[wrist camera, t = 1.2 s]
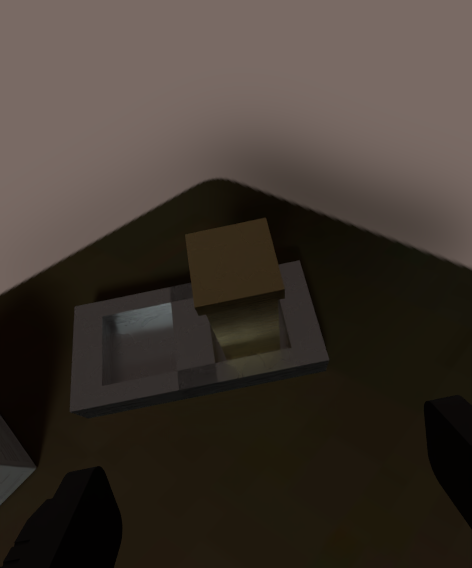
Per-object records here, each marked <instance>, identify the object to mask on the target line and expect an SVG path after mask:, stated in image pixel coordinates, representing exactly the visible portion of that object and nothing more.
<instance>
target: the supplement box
mask: <svg viewBox="0 0 472 568" xmlns="http://www.w3.org/2000/svg"><path fill="white" fill-rule="evenodd" d="M35 469H36V466H35V464H34V463H33V461H32V460H31V458H30V457H29V455H28V454H27V452H26V451H25V449H24V448H23V447H22V445H21V444H20V442H19V441H18V439H17V438H16V437H15V435H14V434H13V432H12V431H11V429H10V428H9V426H8V425H7V423H6V422H5V421H4V419H3V418H2V416H1V415H0V505H1V504H2V503H3V502H4V501H5V500H6V499H7V498H8V497H9V496H10V495H11V494H12V493H13V492H14V491H15V490H16V489H17V488H18V487H19V486H20V485H21V484H22V482H23V481H24V480H25V479H26V478H27V477H28V476H29V475H30V474H31V473H32V472H33V471H34V470H35Z"/></svg>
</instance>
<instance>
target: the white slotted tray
mask: <svg viewBox="0 0 472 568" xmlns="http://www.w3.org/2000/svg"><path fill="white" fill-rule="evenodd" d="M279 269H280V273H281V277H282V280H283V284H284V288H285V299H280V300H278V310H279V331H280V349H277V350H272V351H267V352H263V353H258V354H253V355H248V356H243V357H238V358H233V359H228V360H227V359H226V357H225V355H224V352H223V350H222V348H221V346H220V344H219V342H218V339H217V337H216V335H215V333H214V331H213V329H212V326H211V324H210V322H209V320H208V318H207V316H206V315H202V316H198V314H197V312H196V310H195V308H194V300H193V293H192V285H191V283H187V284H182V285H178V286H173V287H168V288H163V289H158V290H153V291H149V292H144V293H139V294H134V295H129V296H124V297H119V298H115V299H110V300H105V301H100V302H95V303H90V304H86V305H81V306H76V307H75V311H74V333H73V355H72V376H71V398H70V412H72V413H74V414H77V415H80V416H83V417H86V418H92V417H97V416H102V415H107V414H112V413H117V412H122V411H127V410H132V409H137V408H142V407H147V406H152V405H157V404H162V403H167V402H172V401H177V400H182V399H187V398H192V397H198V396H203V395H208V394H213V393H218V392H223V391H228V390H233V389H238V388H243V387H248V386H253V385H258V384H263V383H268V382H273V381H278V380H283V379H288V378H293V377H298V376H303V375H308V374H313V373H318V372H323V371H326V368H327V365H328V362H329V357H328V354H327V351H326V347H325V344H324V341H323V337H322V334H321V331H320V327H319V324H318V321H317V317H316V314H315V311H314V307H313V304H312V300H311V297H310V294H309V290H308V287H307V284H306V280H305V277H304V274H303V270H302V267H301V264H300V260H299V261H294V262H289V263H284V264H279Z"/></svg>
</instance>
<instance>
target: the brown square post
mask: <svg viewBox="0 0 472 568" xmlns="http://www.w3.org/2000/svg"><path fill="white" fill-rule="evenodd" d="M185 237H186V245H187V253H188V261H189V269H190V277H191V285H192V293H193V300H194V308H195V310H196V312H197V314H198V316H202V315H206V316H207V318H208V320H209V322H210V324H211V326H212V329H213V331H214V333H215V335H216V337H217V339H218V342H219V344H220V346H221V348H222V350H223V352H224V355H225V357H226V359H227V360H228V359H233V358H238V357H243V356H248V355H253V354H258V353H263V352H267V351H272V350H277V349H280V331H279V310H278V300H280V299H285V288H284V284H283V280H282V277H281V273H280V269H279V265H278V261H277V258H276V254H275V250H274V246H273V242H272V239H271V235H270V231H269V227H268V223H267V220H266V218H262V219H257V220H252V221H247V222H243V223H238V224H233V225H228V226H223V227H219V228H214V229H209V230H204V231H200V232H195V233H190V234H185Z"/></svg>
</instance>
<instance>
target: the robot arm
mask: <svg viewBox="0 0 472 568" xmlns="http://www.w3.org/2000/svg"><path fill="white" fill-rule="evenodd" d="M424 416H425V427H426V438H427V449H428V457H429V461H430V464H431V467H432V470H433V472H434V474H435V476H436V478H437V480H438V482H439V483H440V485H441V486H442V488H443V489H444V490H445V492H446V493H447V495H448V496H449V497H450V499H451V500H452V502H453V503H454V505H455V506H456V507H457V509H458V510H459V512H460V513H461V515H462V516H463V517H464V519H465V520H466V522H467V523H468V525H469V526H470V527H471V529H472V406H471V405H470V404H469V403H468V402H467V401H466V400H465V399H464V398H463V397H461V396H459V395H455V396H450V397H445V398H440V399H435V400H430V401H426V402H425V404H424ZM121 539H122V518H121V514H120V511H119V508H118V506H117V503H116V500H115V498H114V495H113V492H112V490H111V487H110V484H109V482H108V479H107V476H106V474H105V471H104V470H103V468H102V467H100V466H97V467H92V468H87V469H82V470H77V471H73V472H69V473H67V474H66V475H65V477H64V478H63V480H62V482H61V484H60V486H59V488H58V490H57V491H56V493H55V495H54V497H53V498H52V499H47V500H46V501H45V502H44V503H43V504H42V505H41V506H40V507H39V508H38V509H37V510H36V512H35V513H34V514H33V515H32V516H31V517H30V518H29V519H28V520H27V522H26V523H25V525H24V527H23V529H22V530H21V532H20V534H19V536H18V537H17V539H16V541H15V542H14V543H15V545H14V547H12V548H11V549H10V551H9V553H8V555H7V556H6V558H5V560H4V561H3V567H0V568H114V565H115V562H116V558H117V555H118V551H119V548H120V544H121Z"/></svg>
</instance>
